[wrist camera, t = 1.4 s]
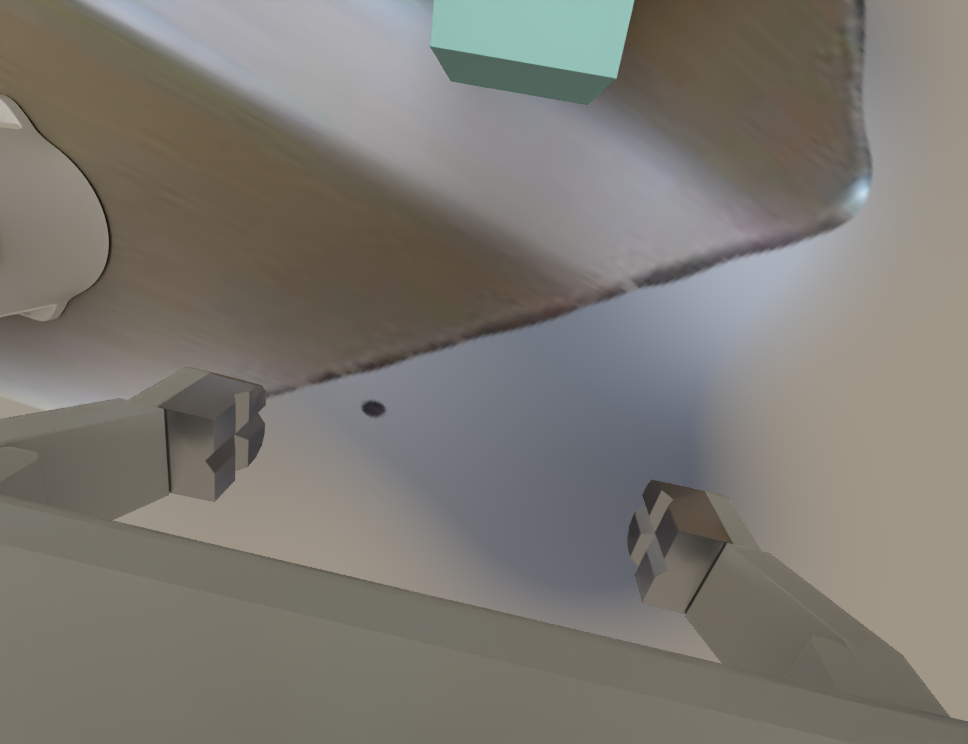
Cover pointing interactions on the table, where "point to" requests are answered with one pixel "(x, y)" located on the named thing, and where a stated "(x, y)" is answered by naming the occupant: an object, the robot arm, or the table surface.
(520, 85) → the teal block
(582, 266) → the table surface
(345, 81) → the table surface
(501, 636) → the robot arm
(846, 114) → the table surface
